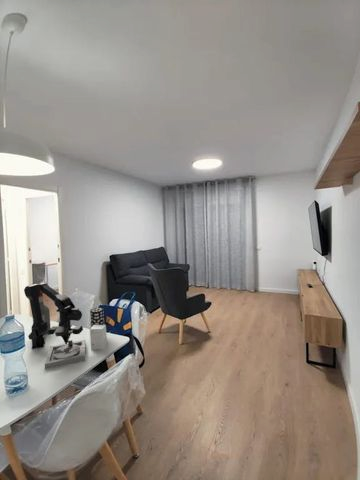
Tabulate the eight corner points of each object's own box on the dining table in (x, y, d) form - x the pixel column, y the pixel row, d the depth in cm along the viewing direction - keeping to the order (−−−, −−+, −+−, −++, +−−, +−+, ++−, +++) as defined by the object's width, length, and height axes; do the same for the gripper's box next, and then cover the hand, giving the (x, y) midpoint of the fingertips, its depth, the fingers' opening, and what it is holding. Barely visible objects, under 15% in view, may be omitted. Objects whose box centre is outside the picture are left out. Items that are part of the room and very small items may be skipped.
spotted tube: (97, 343, 154) (95, 313, 153) (89, 340, 159) (87, 310, 157) (107, 337, 161) (106, 308, 160) (99, 335, 166) (97, 306, 164)
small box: (107, 344, 153) (106, 324, 152) (104, 349, 147) (102, 328, 146) (94, 344, 153) (93, 324, 152) (90, 349, 147) (89, 329, 146)
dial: (74, 359, 134) (74, 351, 133) (48, 360, 133) (48, 353, 133) (83, 346, 148) (82, 339, 147) (60, 347, 147) (59, 340, 147)
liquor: (41, 329, 177) (38, 289, 175) (52, 329, 176) (49, 289, 174) (31, 335, 168) (28, 293, 166) (43, 335, 167) (40, 293, 165)
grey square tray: (44, 369, 128) (44, 363, 127) (50, 351, 146) (49, 345, 146) (85, 360, 135) (84, 355, 135) (85, 344, 153) (85, 339, 153)
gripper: (41, 324, 136) (43, 351, 138) (74, 324, 136) (75, 350, 137) (52, 317, 148) (54, 341, 149) (82, 316, 147) (83, 341, 148)
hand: (66, 343), depth 146 cm, fingers closed
